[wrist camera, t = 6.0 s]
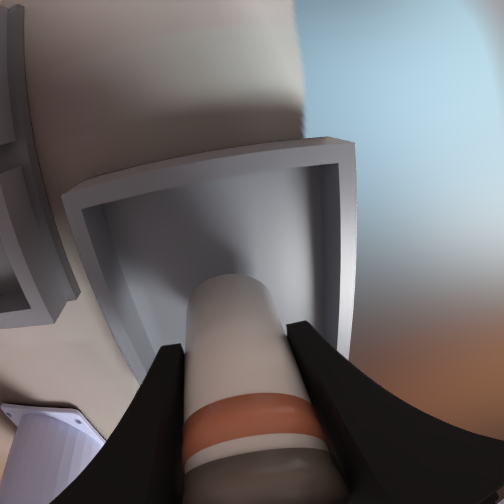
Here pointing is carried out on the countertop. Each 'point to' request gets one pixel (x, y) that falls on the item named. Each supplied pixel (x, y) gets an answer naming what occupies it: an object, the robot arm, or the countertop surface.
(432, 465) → the robot arm
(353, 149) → the parts tray
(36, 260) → the block
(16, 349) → the countertop surface
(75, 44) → the countertop surface
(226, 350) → the cylinder
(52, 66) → the countertop surface
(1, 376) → the countertop surface
